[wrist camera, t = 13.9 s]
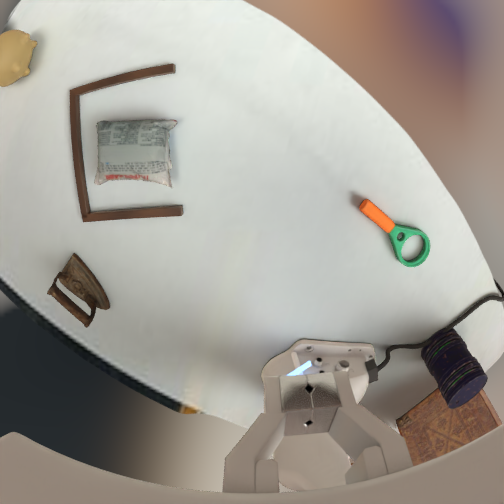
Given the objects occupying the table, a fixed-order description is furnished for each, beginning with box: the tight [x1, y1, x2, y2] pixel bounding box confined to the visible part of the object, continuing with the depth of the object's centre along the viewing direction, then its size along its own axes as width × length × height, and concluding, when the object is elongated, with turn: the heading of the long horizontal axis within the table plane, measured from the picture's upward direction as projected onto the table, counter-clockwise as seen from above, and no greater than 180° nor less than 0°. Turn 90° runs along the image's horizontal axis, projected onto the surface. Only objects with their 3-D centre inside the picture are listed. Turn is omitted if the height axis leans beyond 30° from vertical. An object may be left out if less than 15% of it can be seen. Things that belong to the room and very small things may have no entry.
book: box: [396, 388, 502, 466], centre depth 44 cm, size 25×9×30 cm, turn 147°
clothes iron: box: [47, 253, 110, 328], centre depth 39 cm, size 7×11×10 cm, turn 42°
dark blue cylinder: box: [421, 328, 488, 409], centre depth 41 cm, size 10×10×15 cm
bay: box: [70, 64, 183, 222], centre depth 32 cm, size 16×20×1 cm
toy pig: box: [0, 30, 37, 87], centre depth 21 cm, size 10×12×11 cm
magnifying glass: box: [359, 199, 430, 267], centre depth 37 cm, size 15×6×2 cm, turn 57°
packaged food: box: [94, 120, 177, 188], centre depth 31 cm, size 9×12×5 cm
